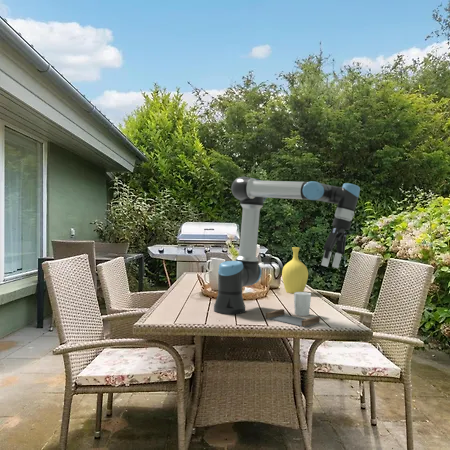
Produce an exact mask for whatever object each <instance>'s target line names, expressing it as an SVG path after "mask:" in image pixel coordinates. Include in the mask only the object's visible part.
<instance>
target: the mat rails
mask: <svg viewBox="0 0 450 450" xmlns="http://www.w3.org/2000/svg"><path fill="white" fill-rule="evenodd" d="M284 314H285V309H283V308H281V309H276V310H273V311H268V312H267V311H266V313H265V319H266V318H272V317H276V316H280V315H284ZM320 318H321V316H318V315H316V316H313V317H309V318H304V319H305V320H302V326H308V325H311V324H314V323H317V324H319V323H318V322H321V320H320ZM314 325H315V324H314ZM311 326H312V325H311ZM308 327H309V326H308Z"/></svg>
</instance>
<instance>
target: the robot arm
mask: <svg viewBox="0 0 450 450" xmlns="http://www.w3.org/2000/svg"><path fill="white" fill-rule="evenodd" d="M230 189H231V193H232V195H233V197H234V198H235V199H236V200H238V201H240V202H239V205H240V206H241V208H242V217H241V226H240V240H239V252H238V255H237V257H235V260H227V261H222V262H221V263H220V264H219V265H218V270H217V273H218V275H217V277H218V280H217V295H216V299H215V303H214V305H213V311H214V312H215V313H219V314H225V315H237V314H243V313H245V312H246V305H245V301H244V298H243V287H250V286H252V285H255V284H257V283H258V282H259V281H260V280H261V277H262V275H263V274H262V267H261V265H260V264H259V261H260V260H259V258H258V257H257V248H258V247H257V246H258V237H259V236H258V235H259V225H260V224H259V223H260V212H261V209H262V208H264V207H263V206H264V202H265V201H266V199H267V198H271V199H273V198H275V199H288V200H289V199H293V200H307V201H320V202H324V203H330V204H335V205H337V206H336V210H335V213H334V218H333V220H332V224H331V225H332V226H331V230H330V233H329V235H328V237H327V239H326V241H325V244H324V245H323V248H322V249H323V250H324V253H323V257H322V259H321V263H320V265H321V266H323V267H327V268H328V266H329V264H330V259H331V256H332V254H333V253H332V252H333V248H334V247H335V246H336V252H335V254H334V257H333V260H332V265H331V267H332V268H335V269H339V267H340V263H341V259H342V256H343V255H345V252H346V251H345V250H346V242H347V235H348V232H347V231H350V229H351V226H352V220H353V218H354V216H355V210H356V207H357V203H358V200H359V198H360V197H359V196H360V192H361V188H360V186H359V185H357V184H354V183H348V182H345V183H343V184H342V186H337V185H336V186H334V185H330V184H327V183H326V184H325V183H322V182H318V181H315V180H313V181H311V180H310V181H288V180H287V181H285V180H261V179H259V178H254V177H248V176H239V177H237V178H235V180H233V181H232V183H231V188H230Z"/></svg>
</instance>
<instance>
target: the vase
mask: <svg viewBox="0 0 450 450" xmlns="http://www.w3.org/2000/svg"><path fill="white" fill-rule="evenodd" d="M300 249H301V248H300V247H297V246H293V247H291V250H292V252H293V253H292V254H293V255H292V259H291V260H289V261H288V262H287V263H285V264H284V266H283V267H282V271H281V272H282V273H281V276H282V282H283V286H284V290H285V291H286V293H287V294H288V293H289V294H291V295H292V294H293V295H294V293H295V292H305V288H306V285H307V282H308V281H309V280H308V279H309V271H308V268H307V266H306V265H305V264H304V263H303V262H302V261H301V260H300V258H299V251H300Z"/></svg>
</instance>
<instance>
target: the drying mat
mask: <svg viewBox="0 0 450 450" xmlns="http://www.w3.org/2000/svg"><path fill="white" fill-rule="evenodd" d="M265 319H266V320H270V321H274V322H278V323H279V322H280V323H283V324H288V325H292V326H297V327H301V328H307V327H311V326H314V325H317V324H320V322H321V321H320V322H318V323H314V324H311V325H308V326H302V320H305V319H306V318H303V317H298V316H294V315H289V314H285V313H284V315H280V316H276V317H272V318H266V317H265Z"/></svg>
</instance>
